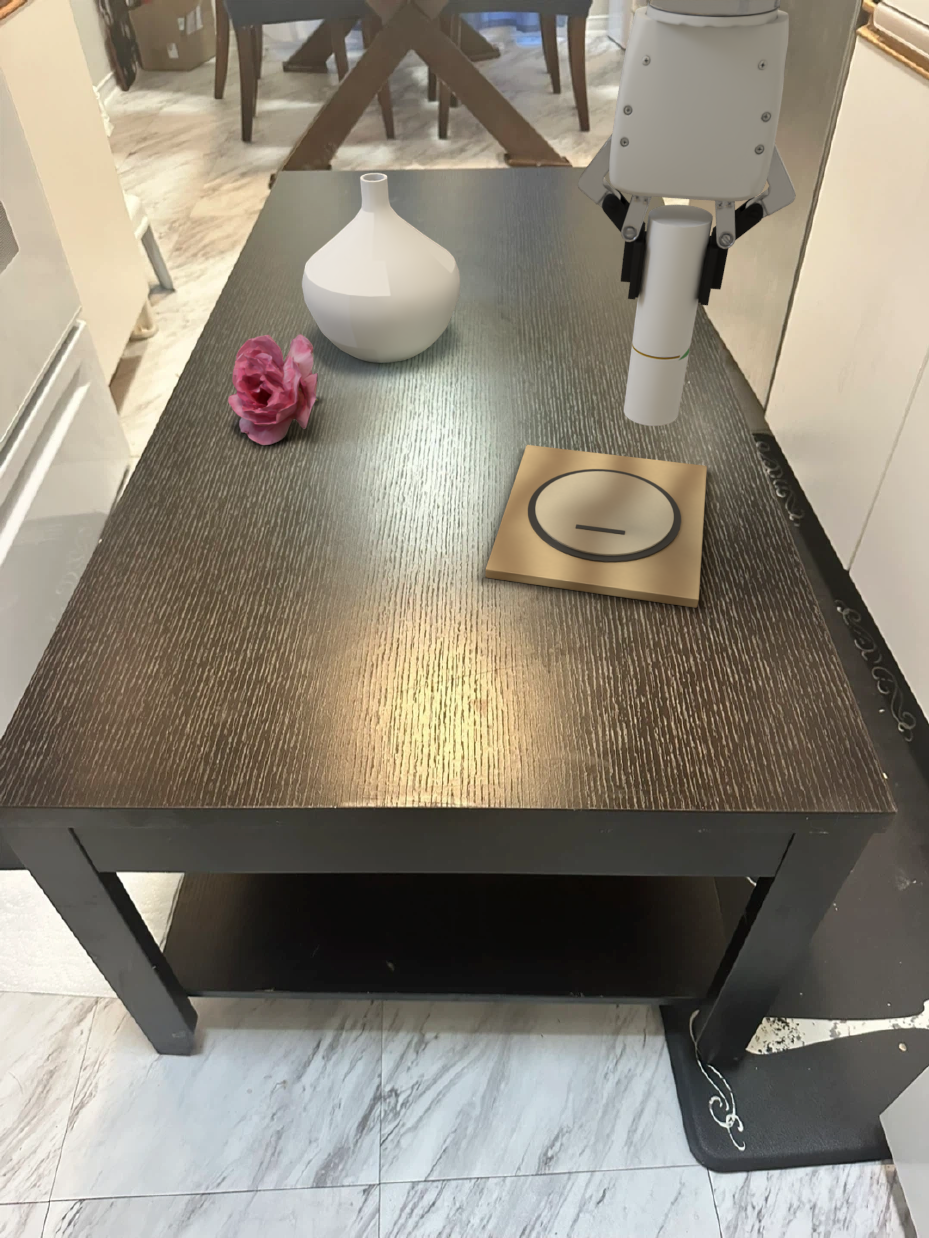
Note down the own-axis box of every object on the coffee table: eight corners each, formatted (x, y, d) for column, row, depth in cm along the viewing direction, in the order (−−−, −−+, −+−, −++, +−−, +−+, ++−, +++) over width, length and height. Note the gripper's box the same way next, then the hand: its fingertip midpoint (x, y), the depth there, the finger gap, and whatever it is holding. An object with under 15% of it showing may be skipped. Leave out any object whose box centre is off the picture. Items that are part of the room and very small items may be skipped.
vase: (491, 346, 108) (494, 178, 95) (371, 398, 99) (355, 221, 86) (398, 299, 118) (388, 141, 105) (281, 342, 109) (254, 176, 96)
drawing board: (705, 474, 88) (708, 461, 87) (696, 608, 74) (699, 595, 73) (526, 452, 91) (526, 440, 90) (485, 577, 77) (485, 564, 76)
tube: (644, 431, 68) (674, 231, 58) (612, 406, 71) (635, 211, 61) (689, 417, 70) (726, 220, 59) (656, 393, 72) (685, 200, 62)
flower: (275, 479, 93) (202, 413, 87) (272, 436, 101) (205, 373, 95) (356, 412, 91) (287, 339, 85) (347, 373, 98) (283, 304, 92)
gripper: (861, -22, 52) (787, 283, 65) (578, -28, 55) (559, 265, 68) (875, 1, 47) (791, 328, 60) (561, -7, 50) (544, 307, 62)
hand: (668, 292), depth 64 cm, fingers closed on tube, 4 cm apart
